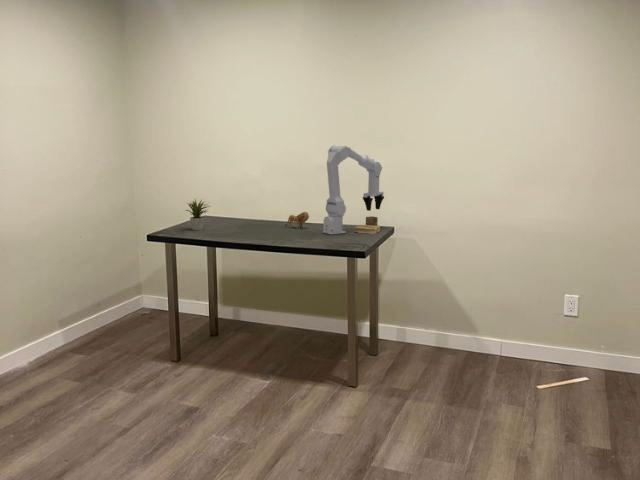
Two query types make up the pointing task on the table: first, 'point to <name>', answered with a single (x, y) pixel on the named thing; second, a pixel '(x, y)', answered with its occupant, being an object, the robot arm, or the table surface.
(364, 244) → the table surface
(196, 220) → the house plant
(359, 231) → the oak plinth
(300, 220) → the lion figurine
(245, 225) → the table surface
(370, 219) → the walnut block
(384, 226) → the table surface
